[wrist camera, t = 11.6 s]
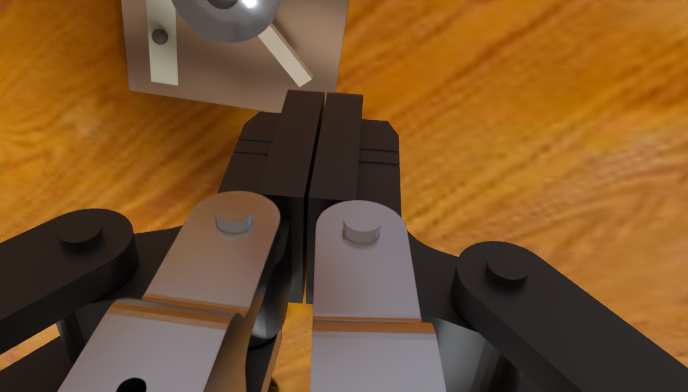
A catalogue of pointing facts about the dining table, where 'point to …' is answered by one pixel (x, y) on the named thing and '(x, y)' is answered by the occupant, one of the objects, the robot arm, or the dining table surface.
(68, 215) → the robot arm
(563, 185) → the dining table surface
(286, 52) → the capstan
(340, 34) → the stand
